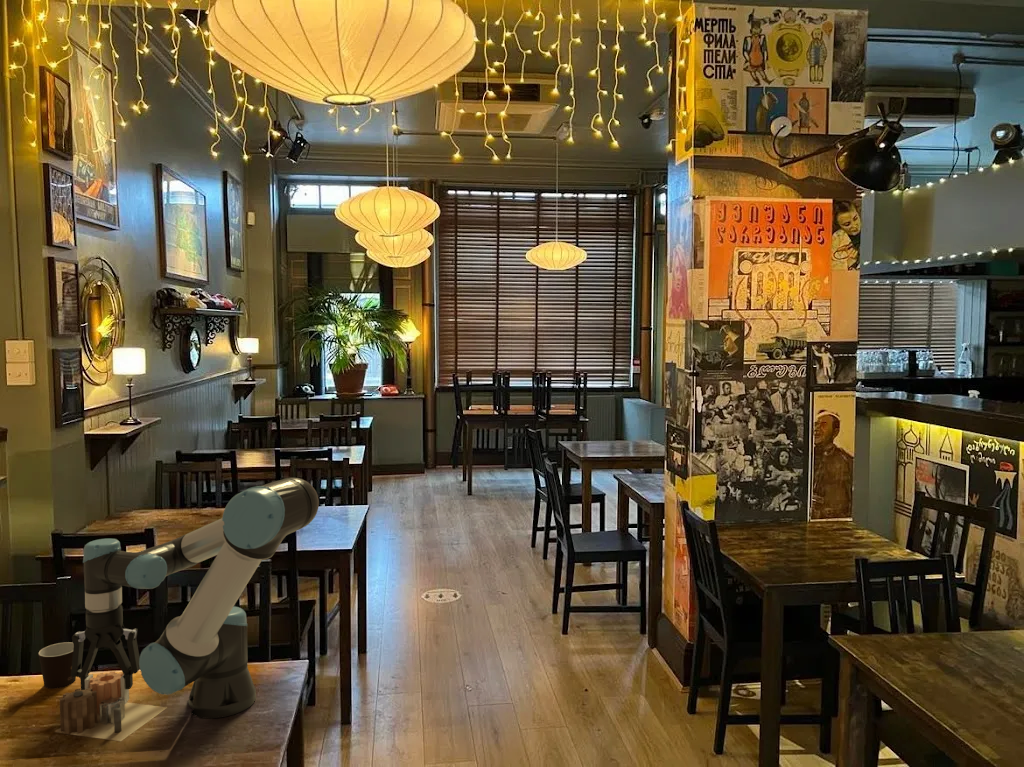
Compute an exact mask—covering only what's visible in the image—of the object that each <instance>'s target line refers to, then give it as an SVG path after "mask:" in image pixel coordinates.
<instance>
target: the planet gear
mask: <svg viewBox="0 0 1024 767" xmlns="http://www.w3.org/2000/svg"><path fill="white" fill-rule="evenodd" d="M122 675H123V672H122V671H121V672H116V670H115V671H109V672H108V673H107V672H106V673H103V672H102V673H100V674H97V676H95V677H93V678H91V679H90V688H93V691H96V692H97V713H99V715H100V704H101V702H102V701H103V700H109V698H112V697H113V698H117V697H121V679H120V678H121V677H122ZM124 706H125V705H124Z"/></svg>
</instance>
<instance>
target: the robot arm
mask: <svg viewBox="0 0 1024 767" xmlns="http://www.w3.org/2000/svg"><path fill="white" fill-rule="evenodd" d="M319 505H320V501H319V495H318V493H317V491H316V489H315V488H314V487H313V485H312V484H311V483H310V482H308V481H307V480H304V479H303V478H299V477H286V478H282V479H280V480H279V479H278V480H275V481H273V482H269V483H266V484H262V485H259V486H258V485H257V486H252V487H249V488H246V489H244V490H243V491H241V492H239V493H236V494H235V495H234V496H233V497H231V499H230V500H229V501H228V503H227V504H226V506H225V508H224V509H223V510H224V511H223V514H222V517H221V518H220V519H217V520H215V521H212V522H211V523H209V524H206V525H203V526H201V527H199V528H197V529H195V530H193V531H190V532H188V533H186V534H183V535H181V536H179V537H176V538H174V539H172V540H169V541H167V542H164V543H160V544H158V545H155V546H152V547H149V548H146V549H142V550H140V551H136V552H135V551H134V552H133V551H126V550H125V551H124V550H122V547H121V542H120V541H119V540H118V539H117V538H99V539H95V540H92V541H89V542H87V543H86V544H84V547H83V558H82V564H83V577H84V581H83V582H84V607H85V609H86V611H85V625H86V626H85V627H86V628H85V630H84V631H80V630H78V631H77V632H75V633H74V634H73V635H72V636H71V640H72V643H73V644H74V648H73V659H72V669H71V676H72V677H75V676H76V678H79V680H80V690H86V689H87V688H90V679H91V678H94V674H92V673H91V669H92V667H93V664H94V662H95V659H96V656H97V652H98V650H99V649H101V648H107V649H108V648H110V651H111V652H112V653H113V655H114V657H115V658H116V661H117V663H118V665H119V667H120V670H121V672H122V673H123V675H122V677H121V678H120V679H121V697H122V699H124V705H125V704H126V703H127V702H129V700H130V690H131V688H132V687H133V685H134V680H133V674H136V673H137V674H138V672H139V671H140V673H141V676H142V679H143V681H144V682H145V683H146V685H147V686H148V687H149V688H150V689H151V690H152V691H154V692H155V693H157V694H160V695H167V696H168V695H172V694H174V693H176V692H179V691H182V690H184V688H185V687H187V686H189V685H190V684H192V687H191V690H190V692H189V697H188V706H189V707H190V709H192V711H191V713H190V714H192V715H193V716H195V717H198V718H203V719H218V718H225V717H229V716H233V715H237V714H240V713H241V712H244V711H245V710H247V709H249V708H250V707H251V706H252V705H253V704H254V703H255V702H256V698H257V694H256V692H257V690H256V685H255V684H254V682H253V678H252V675H251V672H250V671H249V667H248V666H249V664H248V625H249V624H248V623H247V622H248V620H247V613H246V611H245V610H244V609H243V608H241V607H239V606H236V603H237V602H238V600H239V599H240V597H241V595H242V593H243V592H244V590H245V588H246V587H247V584H249V582H250V580H251V578H253V575H254V574H255V572H256V570H257V569H258V568H259V565H260V564H261V562H262V561H265V560H268V559H271V558H272V557H273V556H274V555H275V553H276V552H277V551H278V550H277V549H278V548H279V547H280V545H281V543H282V541H283V540H284V539H285V538H286V536H288V535H290V534H292V533H295V532H298V531H299V530H302V529H304V528H305V527H307V526H308V525H310V523H312V521H313V520H314V519H315V518H316V516H317V513H318V512H319ZM213 557H215V558H214V560H213V561H212V562H211V564H210V567H209V568H208V570H207V572H206V573H205V575H204V576H203V578H202V580H201V581H200V583H199V585H198V587H197V588H196V590H195V592H194V594H193V596H192V597H191V598H190V600H189V602H188V604H187V606H186V607H185V609H184V611H183V612H182V614H181V615H180V616H176V617H174V618H173V619H171V620H170V621H169V622H168V624H167V625H166V627H165V629H164V630H163V632H162V634H161V635H160V637H159V638H158V639H157V640H156V641H155V642H151V643H148V645H146V647H144V648H143V649H142V650H141V652H139V647H138V641H137V640H138V639H137V637H138V628H133V629H129V628H126V627H125V626H124V623H123V622H124V616H123V615H124V614H123V605H122V603H123V587H128V588H132V589H133V588H134V589H138V590H145V589H147V590H153V589H155V588H157V587H159V586H160V585H161V583H163V582H164V580H165V579H166V577H167V576H170V575H172V574H175V573H177V572H180V571H183V570H186V569H189V568H192V567H194V566H196V565H198V564H199V563H202V562H203V561H207V560H208V559H210V558H211V559H212V558H213ZM123 635H124V636H125V637H124V638H125V640H126V644H127V651H128V655H127V653H126V649H124V646H123V642H122V640H121V638H122V636H123ZM86 639H87V640H88V641H89V642H90V645H89V647H88V652H87V655H86V657H85V660H84V663H83V656H84V655H83V654H84V645H85V643H84V642H85V640H86ZM128 656H129V657H128ZM82 664H83V666H82ZM254 701H255V702H254Z"/></svg>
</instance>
